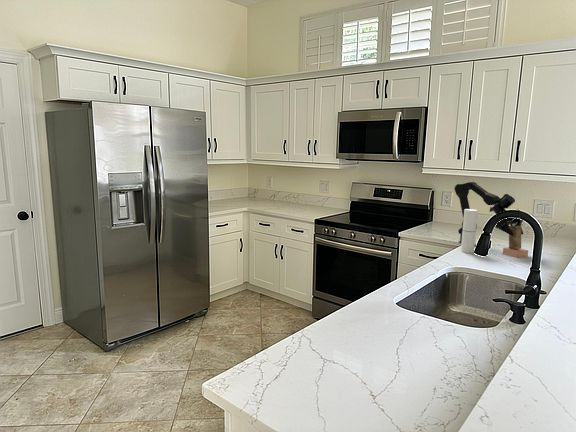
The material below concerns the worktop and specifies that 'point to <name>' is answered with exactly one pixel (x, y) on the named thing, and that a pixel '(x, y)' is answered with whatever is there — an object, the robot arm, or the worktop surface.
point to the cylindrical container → (469, 230)
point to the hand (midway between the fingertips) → (517, 234)
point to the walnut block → (515, 237)
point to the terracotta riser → (515, 252)
